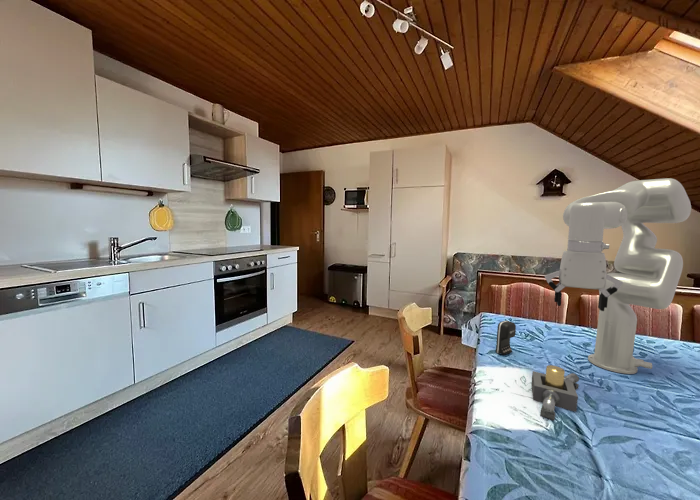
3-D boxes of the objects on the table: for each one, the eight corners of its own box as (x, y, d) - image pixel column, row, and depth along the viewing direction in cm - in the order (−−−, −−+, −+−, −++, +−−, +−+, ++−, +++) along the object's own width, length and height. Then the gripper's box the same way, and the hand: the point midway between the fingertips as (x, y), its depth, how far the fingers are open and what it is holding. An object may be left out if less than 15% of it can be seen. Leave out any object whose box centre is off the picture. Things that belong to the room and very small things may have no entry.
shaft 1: (541, 402, 77) (543, 386, 76) (558, 408, 75) (560, 392, 74) (538, 415, 71) (539, 398, 71) (555, 422, 69) (557, 405, 69)
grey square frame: (570, 394, 81) (571, 380, 81) (576, 412, 73) (577, 396, 73) (531, 384, 86) (532, 371, 85) (533, 400, 78) (534, 385, 77)
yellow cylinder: (560, 395, 80) (563, 367, 80) (562, 403, 77) (565, 374, 76) (543, 391, 82) (545, 363, 81) (544, 398, 79) (547, 370, 78)
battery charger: (505, 356, 104) (508, 325, 103) (494, 352, 107) (497, 322, 106) (515, 352, 108) (517, 322, 107) (504, 348, 111) (507, 319, 110)
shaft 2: (568, 395, 81) (570, 380, 80) (554, 389, 84) (555, 374, 83) (580, 388, 84) (582, 374, 84) (566, 382, 87) (567, 369, 87)
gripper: (621, 247, 81) (615, 307, 83) (545, 244, 89) (542, 299, 91) (630, 250, 74) (623, 316, 76) (548, 247, 82) (544, 306, 84)
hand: (579, 307), depth 84 cm, fingers open, 9 cm apart
